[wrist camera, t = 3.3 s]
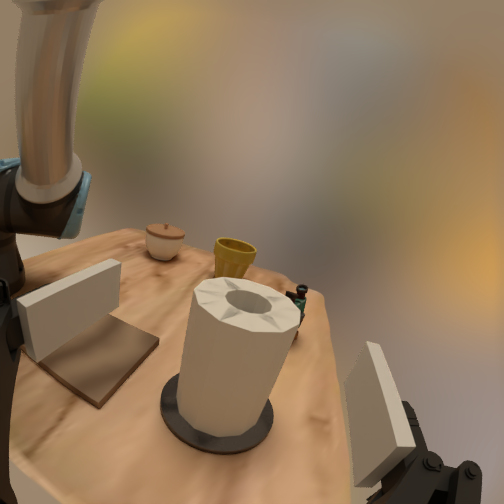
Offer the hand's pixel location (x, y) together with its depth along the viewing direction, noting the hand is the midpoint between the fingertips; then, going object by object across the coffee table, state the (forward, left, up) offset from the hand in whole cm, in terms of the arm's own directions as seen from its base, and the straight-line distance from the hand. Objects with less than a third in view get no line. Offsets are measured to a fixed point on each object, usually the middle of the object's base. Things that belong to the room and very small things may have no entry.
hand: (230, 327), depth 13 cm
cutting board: (-21, +12, -20) cm, 31 cm away
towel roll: (-1, +12, -19) cm, 22 cm away
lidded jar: (-31, +54, -20) cm, 65 cm away
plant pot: (-11, +53, -20) cm, 58 cm away
